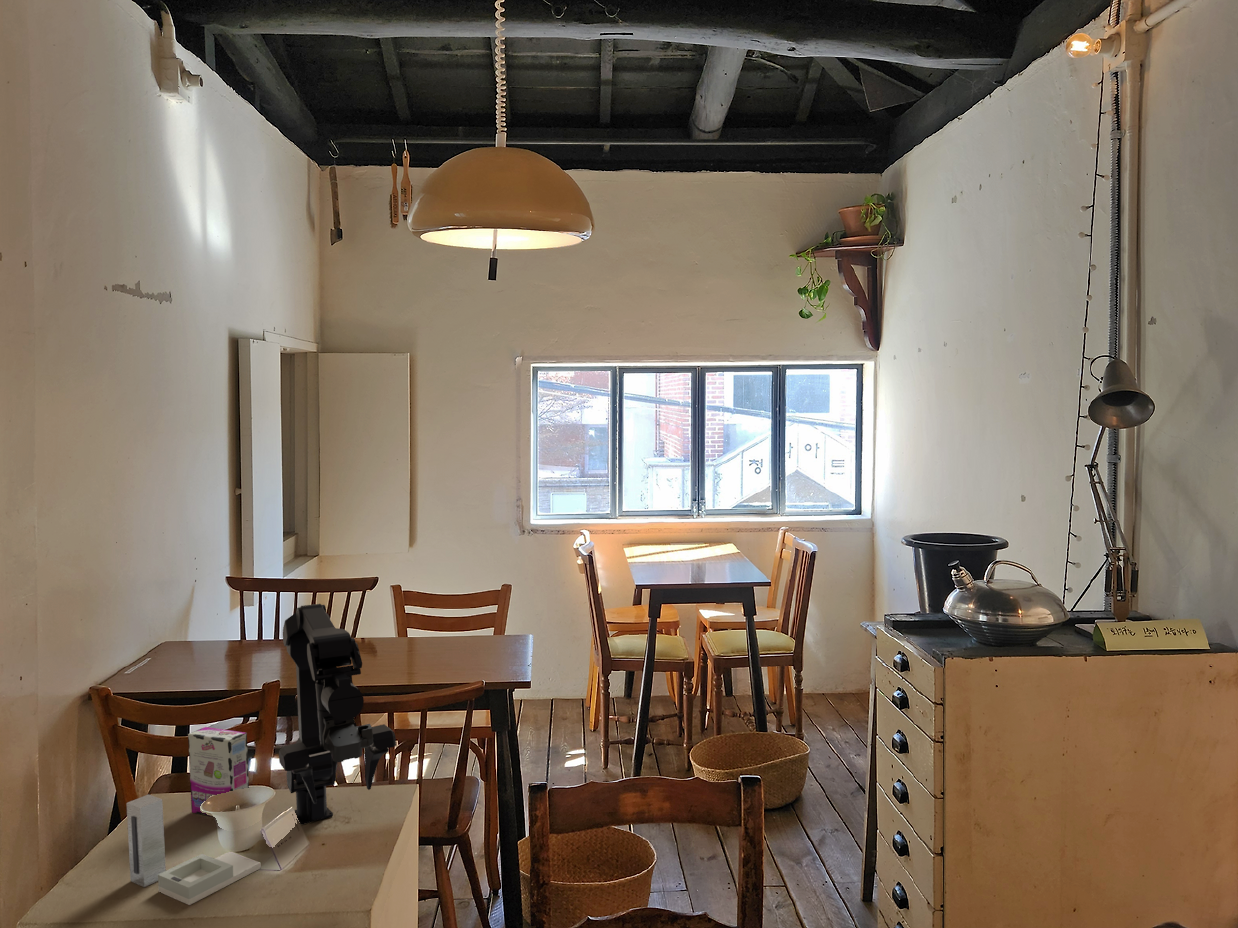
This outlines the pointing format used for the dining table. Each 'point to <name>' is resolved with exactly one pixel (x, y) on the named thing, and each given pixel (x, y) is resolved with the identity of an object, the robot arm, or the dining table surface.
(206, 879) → the white tray
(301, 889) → the dining table surface
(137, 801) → the block
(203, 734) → the candy bar box
